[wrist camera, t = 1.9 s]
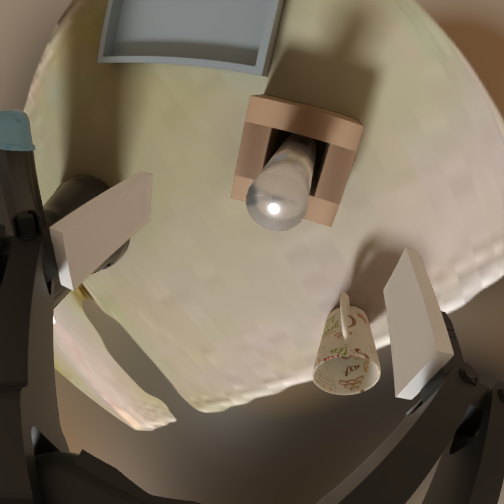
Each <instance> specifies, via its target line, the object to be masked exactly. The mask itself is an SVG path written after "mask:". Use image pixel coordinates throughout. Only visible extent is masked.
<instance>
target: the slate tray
mask: <svg viewBox="0 0 504 504" xmlns="http://www.w3.org/2000/svg"><path fill="white" fill-rule="evenodd" d="M284 3H285V0H108V3H107V8H106V13H105V17H104V22H103V28H102V33H101V39H100V46H99V52H98V59H97V63H162V64H178V65H190V66H200V67H209V68H217V69H225V70H231V71H238V72H244V73H250V74H256V75H261V76H266V77H268V72H269V68H270V63H271V59H272V54H273V50H274V46H275V41H276V37H277V33H278V28H279V24H280V20H281V15H282V11H283V7H284Z"/></svg>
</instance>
